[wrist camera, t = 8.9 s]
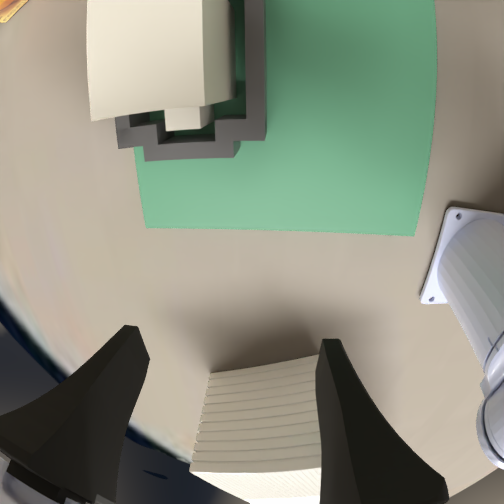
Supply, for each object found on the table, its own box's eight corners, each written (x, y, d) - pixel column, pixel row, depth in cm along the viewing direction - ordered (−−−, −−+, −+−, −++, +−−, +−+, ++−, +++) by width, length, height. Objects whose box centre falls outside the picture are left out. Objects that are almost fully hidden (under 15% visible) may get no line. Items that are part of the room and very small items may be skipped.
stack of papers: (355, 457, 39) (359, 512, 30) (295, 467, 42) (293, 519, 33) (319, 352, 25) (327, 466, 16) (210, 371, 27) (189, 471, 18)
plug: (234, -20, 10) (203, -81, 4) (237, 120, 15) (206, 144, 9) (160, -10, 11) (92, -50, 5) (164, 124, 15) (95, 154, 9)
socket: (265, -14, 10) (262, -31, 8) (266, 147, 15) (264, 158, 13) (133, 4, 11) (111, -5, 9) (140, 152, 16) (120, 163, 14)
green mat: (417, -57, 8) (423, -61, 7) (408, 229, 18) (414, 236, 17) (139, -61, 9) (132, -67, 8) (151, 221, 19) (146, 228, 18)
